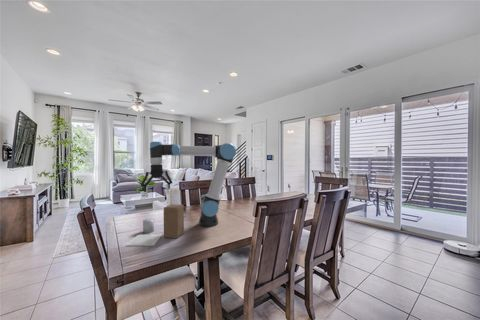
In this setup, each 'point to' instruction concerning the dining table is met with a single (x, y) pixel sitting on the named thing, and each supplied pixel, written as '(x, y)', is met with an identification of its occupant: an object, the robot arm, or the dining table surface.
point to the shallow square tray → (145, 240)
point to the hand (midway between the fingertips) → (157, 195)
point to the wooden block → (173, 221)
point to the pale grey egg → (148, 225)
